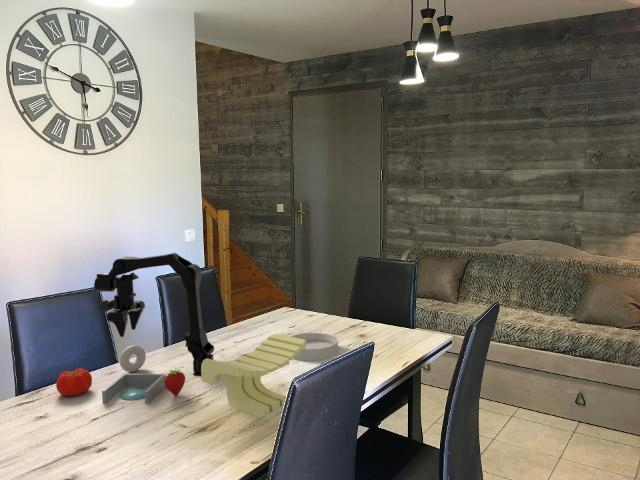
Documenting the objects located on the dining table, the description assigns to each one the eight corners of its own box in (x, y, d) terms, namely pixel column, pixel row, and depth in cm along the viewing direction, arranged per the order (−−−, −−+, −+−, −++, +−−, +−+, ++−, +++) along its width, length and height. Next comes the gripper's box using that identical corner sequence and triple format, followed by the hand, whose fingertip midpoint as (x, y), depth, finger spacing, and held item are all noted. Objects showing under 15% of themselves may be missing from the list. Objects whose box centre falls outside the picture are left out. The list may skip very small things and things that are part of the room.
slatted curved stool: (271, 381, 179) (269, 332, 177) (306, 392, 169) (305, 339, 167) (203, 413, 155) (200, 356, 153) (240, 428, 146) (238, 367, 144)
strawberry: (160, 398, 167) (158, 368, 166) (176, 390, 173) (175, 361, 172) (174, 401, 164) (173, 371, 163) (190, 392, 171) (188, 363, 170)
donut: (123, 376, 187) (121, 349, 186) (118, 374, 189) (116, 347, 188) (148, 368, 194) (146, 343, 193) (143, 366, 197) (142, 341, 195)
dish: (340, 344, 220) (340, 333, 219) (336, 362, 198) (336, 349, 197) (288, 343, 222) (288, 332, 221) (279, 361, 200) (279, 349, 199)
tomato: (54, 401, 166) (52, 379, 165) (61, 388, 177) (59, 367, 176) (90, 397, 169) (88, 375, 168) (95, 384, 180) (93, 364, 179)
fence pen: (166, 385, 178) (165, 374, 177) (148, 403, 163) (147, 391, 162) (124, 384, 179) (123, 373, 179) (102, 403, 164) (101, 391, 164)
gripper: (116, 286, 198) (118, 326, 200) (90, 297, 180) (93, 340, 182) (144, 286, 197) (146, 326, 199) (121, 297, 179) (124, 340, 181)
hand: (127, 333), depth 190 cm, fingers open, 9 cm apart
